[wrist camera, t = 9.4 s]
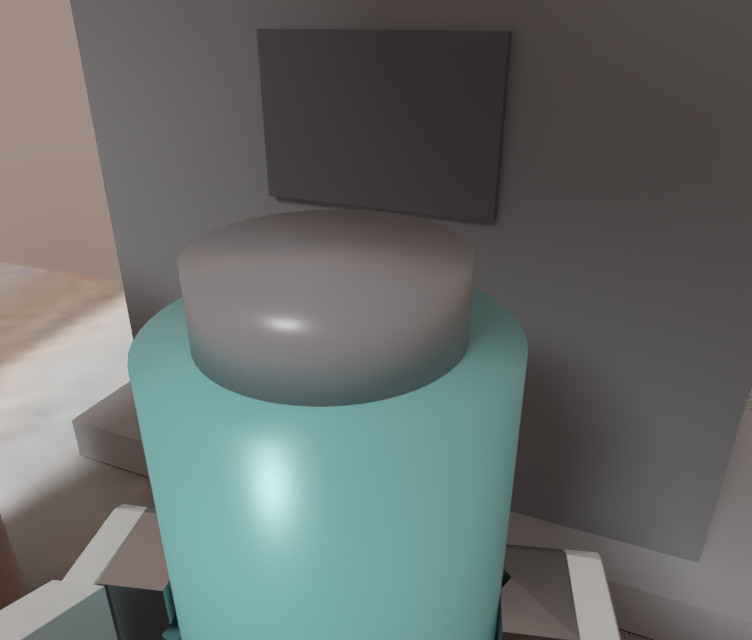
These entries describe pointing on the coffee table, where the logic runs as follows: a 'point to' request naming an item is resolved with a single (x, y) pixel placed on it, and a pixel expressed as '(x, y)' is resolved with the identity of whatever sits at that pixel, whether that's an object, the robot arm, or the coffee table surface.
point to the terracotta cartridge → (8, 572)
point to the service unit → (489, 230)
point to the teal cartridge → (331, 431)
